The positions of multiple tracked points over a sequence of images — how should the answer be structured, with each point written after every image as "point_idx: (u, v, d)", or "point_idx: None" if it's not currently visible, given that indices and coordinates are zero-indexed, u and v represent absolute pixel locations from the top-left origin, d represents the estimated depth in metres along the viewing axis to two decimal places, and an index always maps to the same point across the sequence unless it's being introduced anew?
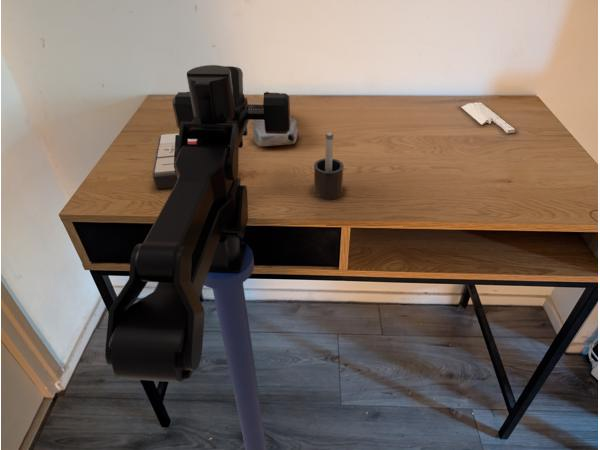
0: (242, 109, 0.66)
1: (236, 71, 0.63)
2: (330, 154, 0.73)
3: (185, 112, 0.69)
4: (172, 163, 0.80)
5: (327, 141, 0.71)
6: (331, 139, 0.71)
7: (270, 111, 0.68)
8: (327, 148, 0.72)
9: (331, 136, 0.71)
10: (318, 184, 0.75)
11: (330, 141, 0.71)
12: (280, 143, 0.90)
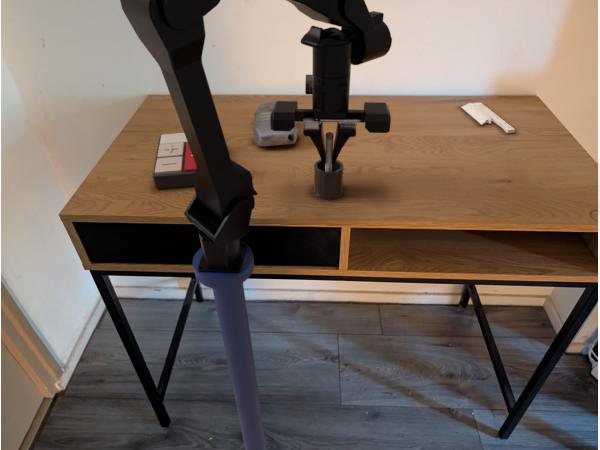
0: None
1: None
2: (330, 154, 0.73)
3: (285, 104, 0.69)
4: (172, 163, 0.80)
5: (327, 141, 0.71)
6: (331, 139, 0.71)
7: (371, 104, 0.69)
8: (327, 148, 0.72)
9: (331, 136, 0.71)
10: (318, 184, 0.75)
11: (330, 141, 0.71)
12: (280, 143, 0.90)
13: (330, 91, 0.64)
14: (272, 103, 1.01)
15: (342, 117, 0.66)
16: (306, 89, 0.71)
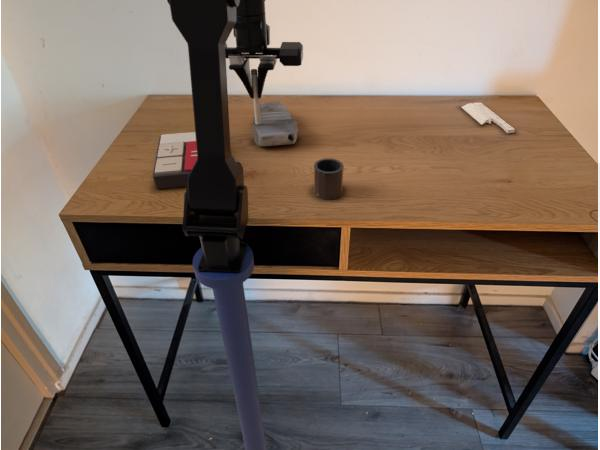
0: (267, 27, 0.80)
1: (268, 26, 0.85)
2: (256, 89, 0.85)
3: None
4: (172, 163, 0.80)
5: (252, 76, 0.83)
6: (255, 74, 0.83)
7: (287, 43, 0.81)
8: (253, 83, 0.84)
9: (255, 71, 0.83)
10: (318, 184, 0.75)
11: (254, 76, 0.83)
12: (280, 143, 0.90)
13: (246, 28, 0.76)
14: (272, 103, 1.01)
15: (259, 52, 0.78)
16: (234, 32, 0.83)
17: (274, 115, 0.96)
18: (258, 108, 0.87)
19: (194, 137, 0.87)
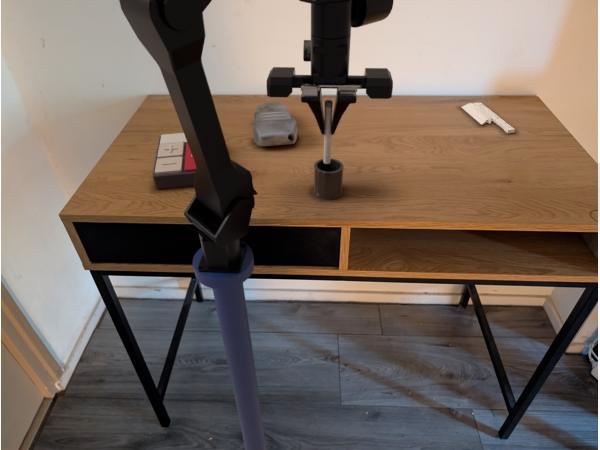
0: None
1: None
2: (329, 123, 0.70)
3: (282, 70, 0.66)
4: (172, 163, 0.80)
5: (326, 109, 0.68)
6: (330, 107, 0.68)
7: (372, 70, 0.66)
8: (326, 117, 0.69)
9: (330, 104, 0.68)
10: (318, 184, 0.75)
11: (329, 109, 0.68)
12: (280, 143, 0.90)
13: (329, 53, 0.61)
14: (272, 103, 1.01)
15: (342, 82, 0.63)
16: (304, 55, 0.68)
17: (274, 115, 0.96)
18: (329, 146, 0.72)
19: None
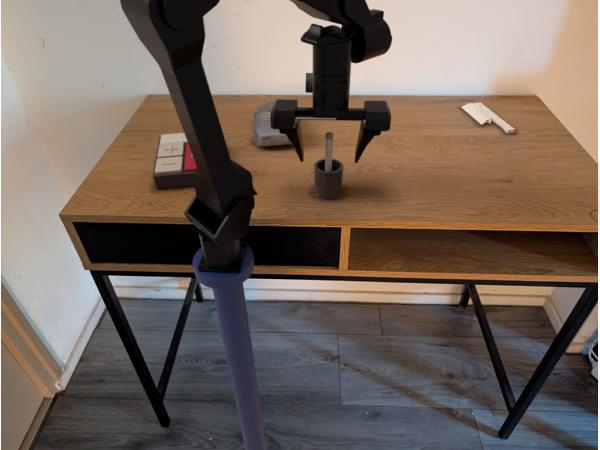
0: None
1: None
2: (330, 154, 0.73)
3: (285, 102, 0.69)
4: (172, 163, 0.80)
5: (327, 141, 0.71)
6: (331, 139, 0.71)
7: (371, 103, 0.69)
8: (327, 148, 0.72)
9: (331, 136, 0.71)
10: (318, 184, 0.75)
11: (330, 141, 0.71)
12: (280, 143, 0.90)
13: (330, 90, 0.64)
14: (272, 103, 1.01)
15: (342, 115, 0.66)
16: (306, 87, 0.71)
17: None
18: None
19: None
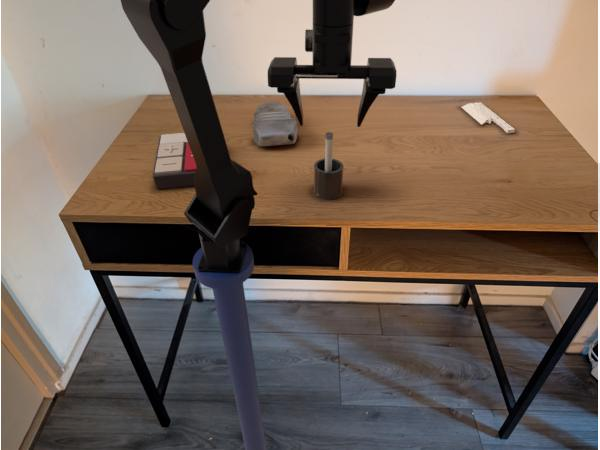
0: None
1: None
2: (330, 154, 0.73)
3: (283, 60, 0.65)
4: (172, 163, 0.80)
5: (327, 141, 0.71)
6: (331, 139, 0.71)
7: (375, 60, 0.64)
8: (327, 148, 0.72)
9: (331, 136, 0.71)
10: (318, 184, 0.75)
11: (330, 141, 0.71)
12: (280, 143, 0.90)
13: (331, 42, 0.59)
14: (272, 103, 1.01)
15: (344, 71, 0.62)
16: (306, 45, 0.67)
17: (274, 115, 0.96)
18: None
19: None
